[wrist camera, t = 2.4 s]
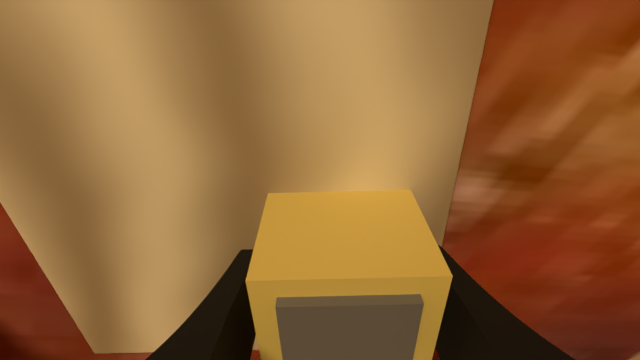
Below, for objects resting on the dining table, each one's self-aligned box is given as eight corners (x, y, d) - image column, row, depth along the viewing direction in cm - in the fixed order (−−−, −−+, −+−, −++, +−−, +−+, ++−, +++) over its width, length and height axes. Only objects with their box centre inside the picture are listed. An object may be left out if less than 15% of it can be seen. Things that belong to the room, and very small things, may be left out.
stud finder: (282, 308, 14) (269, 418, 10) (267, 193, 11) (243, 290, 7) (395, 305, 14) (422, 416, 10) (410, 189, 11) (457, 285, 7)
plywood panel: (106, 334, 17) (94, 353, 16) (-278, -345, 6) (-376, -402, 5) (415, 327, 16) (420, 346, 16) (548, -377, 6) (586, -439, 5)
